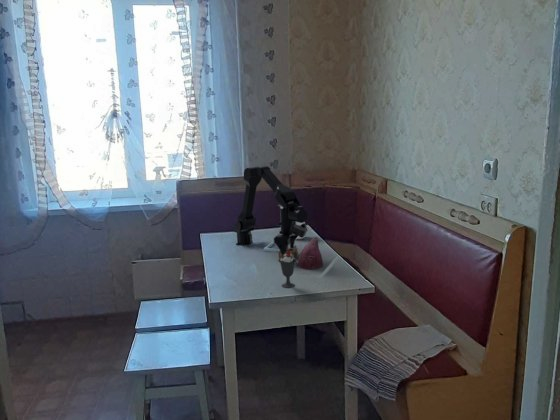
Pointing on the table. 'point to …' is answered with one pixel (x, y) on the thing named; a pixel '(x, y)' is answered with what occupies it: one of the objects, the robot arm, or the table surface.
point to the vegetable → (310, 256)
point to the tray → (272, 248)
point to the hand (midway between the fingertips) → (288, 253)
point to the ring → (292, 251)
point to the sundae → (287, 268)
